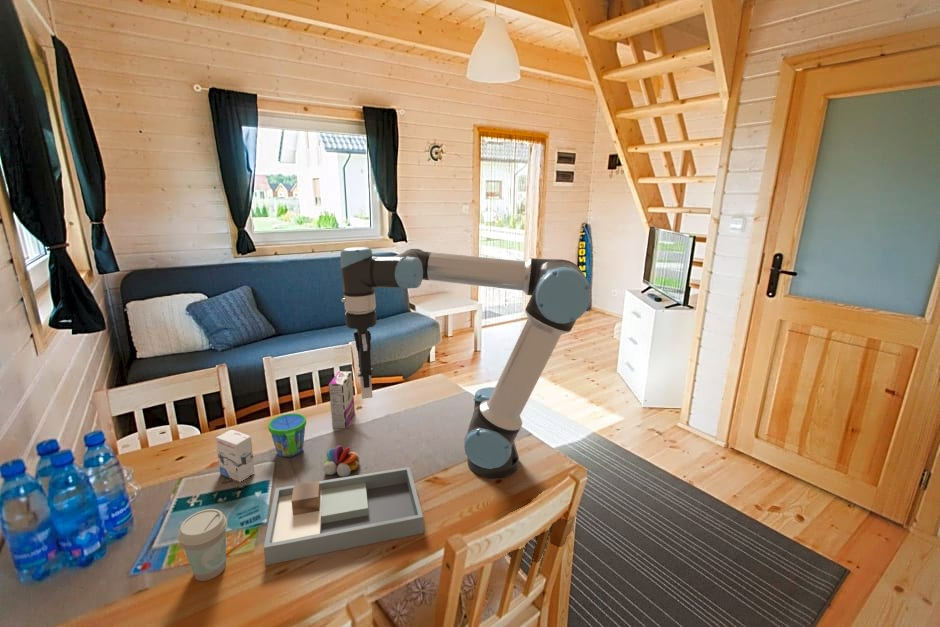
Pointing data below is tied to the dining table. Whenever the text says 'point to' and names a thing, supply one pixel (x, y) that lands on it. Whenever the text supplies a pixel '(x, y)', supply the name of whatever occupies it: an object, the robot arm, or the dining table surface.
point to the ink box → (235, 455)
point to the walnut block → (306, 498)
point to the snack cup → (288, 434)
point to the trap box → (345, 516)
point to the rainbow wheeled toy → (340, 461)
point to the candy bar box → (341, 399)
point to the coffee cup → (205, 543)
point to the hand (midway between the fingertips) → (367, 396)
